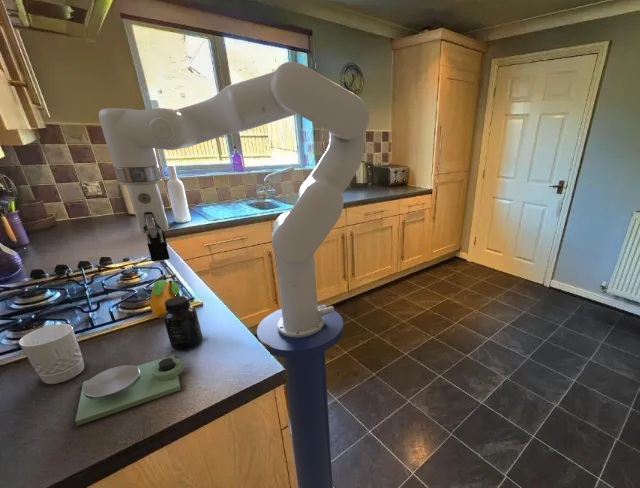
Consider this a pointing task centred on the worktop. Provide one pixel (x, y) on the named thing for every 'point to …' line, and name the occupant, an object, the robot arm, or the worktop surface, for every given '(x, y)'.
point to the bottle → (177, 196)
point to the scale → (133, 391)
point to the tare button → (166, 364)
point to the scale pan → (111, 382)
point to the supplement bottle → (182, 324)
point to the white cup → (53, 353)
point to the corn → (162, 296)
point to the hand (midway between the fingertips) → (160, 253)
